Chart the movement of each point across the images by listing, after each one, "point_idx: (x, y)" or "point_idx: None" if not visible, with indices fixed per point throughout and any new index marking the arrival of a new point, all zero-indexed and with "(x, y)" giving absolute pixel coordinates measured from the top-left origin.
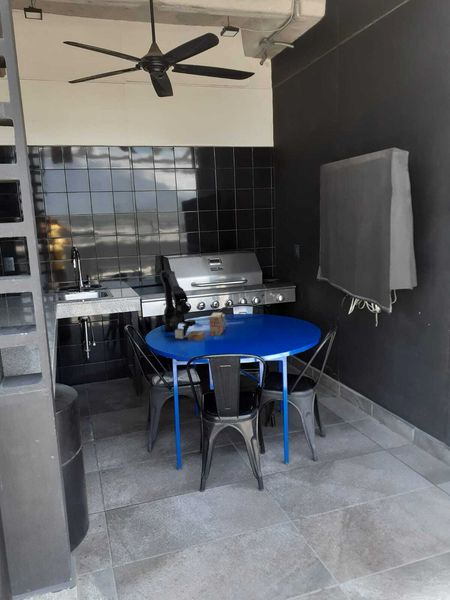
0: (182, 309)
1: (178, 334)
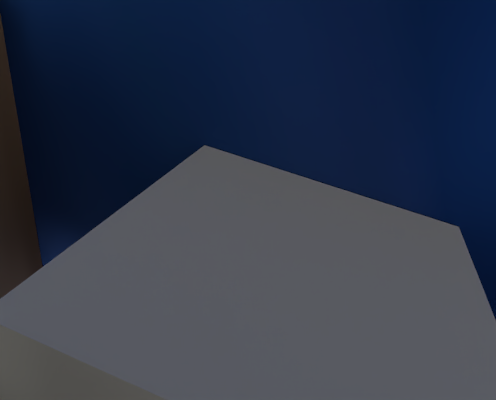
0: None
1: (313, 257)
